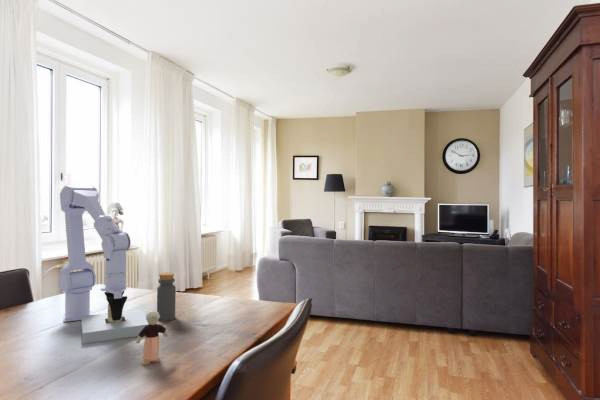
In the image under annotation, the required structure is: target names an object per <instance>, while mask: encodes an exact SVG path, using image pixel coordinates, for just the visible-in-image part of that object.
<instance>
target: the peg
mask: <svg viewBox="0 0 600 400" xmlns="http://www.w3.org/2000/svg"><path fill="white" fill-rule="evenodd" d="M107 313H108V323H116V322H122V315H121V319H120V320H115V321H113V320H112V316H111V309H110V305H109V303H108V304H107Z"/></svg>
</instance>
